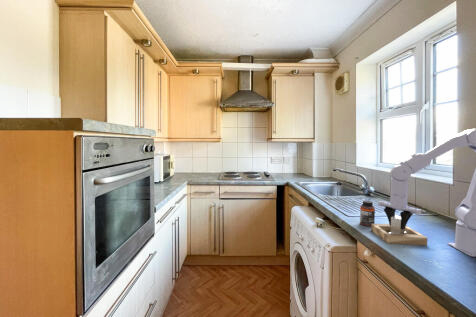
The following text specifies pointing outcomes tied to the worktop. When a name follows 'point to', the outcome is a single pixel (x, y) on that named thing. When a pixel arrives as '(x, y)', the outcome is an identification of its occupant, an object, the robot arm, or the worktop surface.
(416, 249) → the worktop surface
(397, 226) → the stepped metal bar
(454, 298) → the worktop surface
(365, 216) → the supplement bottle
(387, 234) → the well block
